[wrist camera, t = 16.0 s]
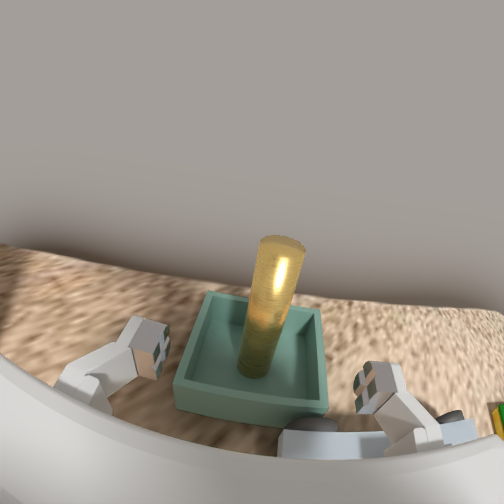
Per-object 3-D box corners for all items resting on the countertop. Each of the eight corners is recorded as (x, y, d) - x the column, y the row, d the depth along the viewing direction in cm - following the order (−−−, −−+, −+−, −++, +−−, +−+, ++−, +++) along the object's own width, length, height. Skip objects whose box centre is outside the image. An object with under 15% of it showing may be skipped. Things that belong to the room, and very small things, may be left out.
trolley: (255, 584, 8) (275, 601, 5) (273, 435, 23) (293, 400, 19) (464, 538, 8) (516, 517, 4) (447, 429, 22) (485, 394, 18)
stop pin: (234, 375, 27) (257, 253, 20) (239, 350, 31) (261, 232, 23) (268, 381, 27) (306, 262, 20) (270, 356, 30) (304, 240, 23)
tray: (176, 408, 24) (172, 383, 21) (206, 320, 35) (207, 290, 33) (311, 430, 23) (328, 408, 21) (309, 337, 35) (320, 309, 33)
